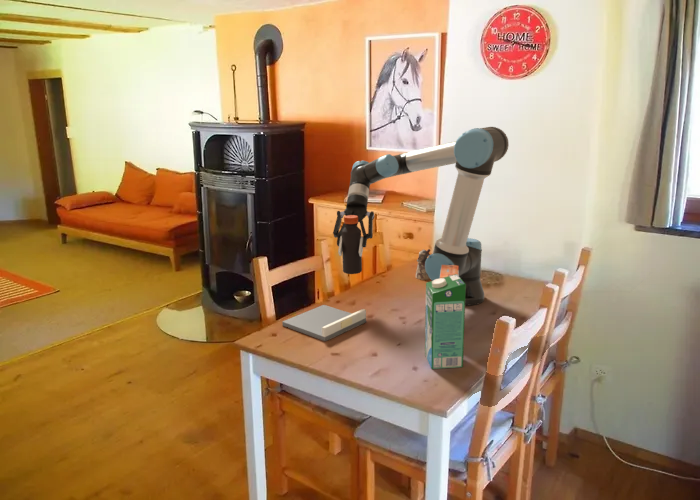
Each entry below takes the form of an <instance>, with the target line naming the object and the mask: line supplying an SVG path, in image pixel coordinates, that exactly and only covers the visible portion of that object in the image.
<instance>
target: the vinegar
mask: <svg viewBox="0 0 700 500" xmlns="http://www.w3.org/2000/svg"><path fill="white" fill-rule="evenodd" d="M343 224H345V228H344V229H343V230H342V256H341V257H342V272H343V273H344V274H345V275H346V274H347V275H356V274H357V275H358V274H360V273H362V271H363V260H362V259H363V256H362V257H360V256H359V246H360V239H361V236H362V230H361V228H360V227H359V226H358V224H359V222H358V216H356V215H348V216H346V215H344V216H343Z"/></svg>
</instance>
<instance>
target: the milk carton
mask: <svg viewBox="0 0 700 500" xmlns="http://www.w3.org/2000/svg"><path fill="white" fill-rule="evenodd" d="M465 291H466V284H465V283H464V282H463V281H462V279H461V278H460V277H459V276H458V275H457V274H455V275H451V276H448V277H444V278H439V279H436V280H433V281H432V280H430V281H427V282H425V317H424V318H425V319H424V320H425V321H424V322H425V325H424V329H425V330H424V331H425V332H424V356H425V358H426V360H427V363H428V364H429V366H430V369H431V370H436V369H437V370H438V369H455V368H464V349H465V347H464V346H465V345H464V343H465V340H464V339H465V320H466V319H465V316H466V314H465V313H466V305H465Z"/></svg>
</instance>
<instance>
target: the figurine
mask: <svg viewBox="0 0 700 500" xmlns="http://www.w3.org/2000/svg"><path fill="white" fill-rule="evenodd" d="M430 252H431V249H429V248H428V249H427V250H426V249H422V250H420V251H419V252H418V257H417V260H416V262H417V267H416V271H415V278H416V279H418V280H420V281H421V280H422V281H425V280H426V281H427V280H431V279H430V278H429V276H428V274H427V273H426V270H425V262H426V259H427V258H428V257H429V255H431V254H430Z"/></svg>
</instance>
